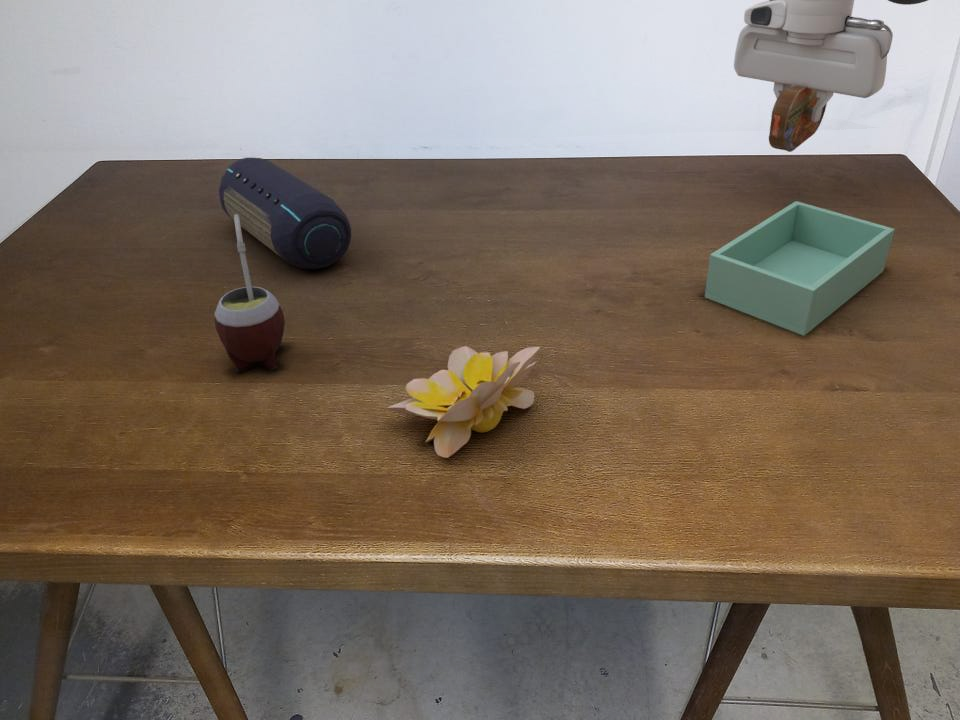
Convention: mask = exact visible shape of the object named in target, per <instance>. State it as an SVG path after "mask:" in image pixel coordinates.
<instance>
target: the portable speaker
mask: <svg viewBox="0 0 960 720" xmlns="http://www.w3.org/2000/svg"><path fill="white" fill-rule="evenodd" d="M219 183H220V184H219V187H218V193H219V194H218V195H219V202H220V206H221V207H222V208H221V209H222V210H223V211H224V213H225V214H226V215H227V216H228V217H229V218H230V219H231V220H232V221H234V215H235V214H238V215H239V219H240V226H241V228H242V229H244V230H245V231H246V232H248V233H249V234H250V235H251V236H253V237H254V238H256V240H258V241H259V242H261V243H262V244H263V245H264V246H266V247H267V248H268V249H269V250H271V251H272V252H273V253H275V254H276V255H277V256H279V258H281V259H282V260H284V261H285V262H287V263H288V264H290V265H291V266H292V267H295V268H299V269H303V270H319V269H324V268H327V267H331V266H332V265H334V264H335V263H337V262H338V261H340V259H341V258H343V256H344V255H345V254H346V252H347V251H348V249H349V246H350V244H351V241H352V227H351V224H350V220H349V218H348V216H347V215H346V214H345V212H344V211H343V209H342V208H341V207H340V206H339V205H338V204H337V203H336V201H335V200H334V199H333V198H331V197H329V196H328V195H326V194H325V193H323V192H321V191H320V190H318V189H317V188H315V187H313V186H312V185H310V184H309V183H306V182H305V181H303V180H301V179H300V178H298V177H297V176H295V175H294V174H292V173H290V172H289V171H287V170H285V169H284V168H282V167H280V166H279V165H277V164H276V163H275V162H272V161H270V160H269V159H265V158H262V157H243V158H240V159H238V160H236V161H234V162H233V163H232V164H230V165H229V167H227V169H226V171H225V172H224V173H223V175H222V176H221V179H220V182H219Z"/></svg>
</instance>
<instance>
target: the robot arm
mask: <svg viewBox="0 0 960 720" xmlns="http://www.w3.org/2000/svg"><path fill="white" fill-rule="evenodd" d="M887 1H888V2H889V3H892V4H897V5H902V6H903V5H904V6H906V5H916V4H921V3H925V2H928V1H929V0H887ZM854 4H855V0H765V1H761V2H759V3H756V4H754V5H751V6H749V7H747V8H746V9H745V10H744V15H743V22H744V23H745V24H746V25H745V26H743V28H742V29H741V30H740V32H739V35H738V37H737V41H736V47H735V52H734V60H733V69H734V71H735V73H736V75H737V76H738V77H741V78H747V79H753V80H759V81H763V82H764V81H766V82H769V83H773V89H772V90H773V94H774V95H775V98H776V99H777V98H778V96H779V95H780V93H781V92H782V91H783V90H784V89H786V88H787V87H789V86H790V85H796V86H802V87H806V86H807V88H810V89H815V90H817V94H816V97H817V98H820V99H819V101H818V102H817V103H816V105H815V106H814V105H812V106H810V107H808V108H806V116H805V120H806V121H810V122H817V121H819V120H820V118H821V113H822V108H823V107H824V106H825V105H826V103H827V104H828V102H830V100H831V99H832V98H833V96H834V94H838V95H845V96H850V97H856V98H862V99H867V98H871V97H872V96H874V95H875V94H877V93H878V92H879V91H880V90H881V89H883V87H884V86H885V81H886V72H887V65H888V64H887V63H888V54H889V53H890V51H891V47H892V43H893V37H894V34H893V31H892V29H891V28H890V27H889V26H888V25H887V24H885V22H884V20H880V19H867V18H863V17H856V16H852V14H853V9H854ZM826 106H827V105H826Z"/></svg>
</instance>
